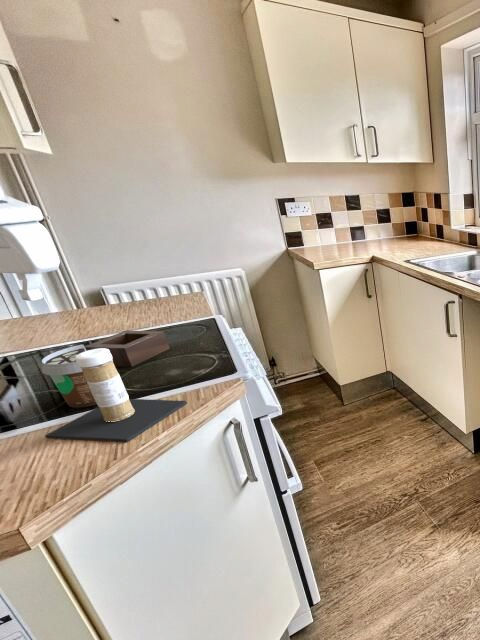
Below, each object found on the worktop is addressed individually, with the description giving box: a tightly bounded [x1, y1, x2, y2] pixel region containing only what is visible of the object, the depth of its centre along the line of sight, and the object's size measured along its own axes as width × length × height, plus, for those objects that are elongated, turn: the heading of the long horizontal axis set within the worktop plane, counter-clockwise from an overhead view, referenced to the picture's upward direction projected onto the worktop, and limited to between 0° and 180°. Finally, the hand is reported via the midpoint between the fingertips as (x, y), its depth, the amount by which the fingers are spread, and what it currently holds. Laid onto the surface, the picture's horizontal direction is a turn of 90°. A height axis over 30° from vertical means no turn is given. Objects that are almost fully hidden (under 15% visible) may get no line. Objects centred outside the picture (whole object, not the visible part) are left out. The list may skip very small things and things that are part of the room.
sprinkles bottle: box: [75, 348, 135, 422], centre depth 77 cm, size 5×5×14 cm
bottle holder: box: [84, 330, 171, 368], centre depth 106 cm, size 11×11×5 cm
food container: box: [40, 343, 98, 408], centre depth 85 cm, size 12×6×10 cm, turn 40°
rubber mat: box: [44, 398, 188, 443], centre depth 80 cm, size 16×13×1 cm
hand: (7, 298), depth 68 cm, fingers open, 8 cm apart
